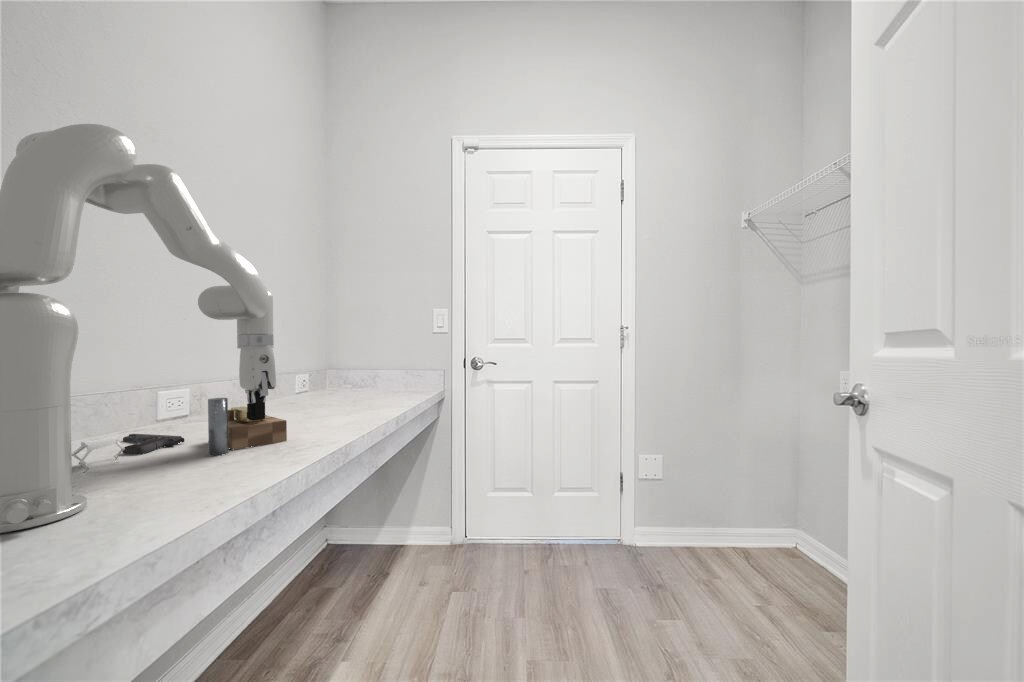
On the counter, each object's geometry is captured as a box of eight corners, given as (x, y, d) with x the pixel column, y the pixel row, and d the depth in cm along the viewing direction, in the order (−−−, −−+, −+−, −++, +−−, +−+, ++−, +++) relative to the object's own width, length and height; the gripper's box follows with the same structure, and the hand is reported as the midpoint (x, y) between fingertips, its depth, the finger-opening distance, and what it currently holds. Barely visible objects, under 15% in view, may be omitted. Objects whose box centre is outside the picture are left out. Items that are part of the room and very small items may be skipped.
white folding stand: (74, 463, 94) (74, 439, 94) (127, 457, 98) (127, 434, 98) (59, 478, 84) (59, 451, 84) (119, 470, 88) (119, 445, 88)
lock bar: (260, 420, 111) (259, 403, 111) (246, 421, 109) (246, 405, 109) (244, 415, 118) (243, 400, 118) (231, 417, 115) (230, 401, 115)
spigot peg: (230, 453, 100) (230, 398, 100) (212, 456, 98) (211, 400, 97) (224, 451, 103) (224, 397, 103) (206, 454, 100) (205, 399, 100)
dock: (286, 440, 112) (286, 410, 112) (232, 450, 103) (231, 416, 103) (265, 434, 120) (265, 405, 120) (213, 442, 111) (212, 411, 111)
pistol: (137, 446, 99) (192, 434, 110) (79, 442, 105) (136, 431, 116) (138, 457, 99) (192, 444, 110) (80, 453, 105) (137, 441, 117)
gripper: (285, 341, 107) (286, 420, 107) (259, 341, 117) (260, 414, 117) (250, 342, 101) (252, 425, 101) (226, 342, 111) (227, 418, 111)
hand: (256, 419), depth 109 cm, fingers closed
